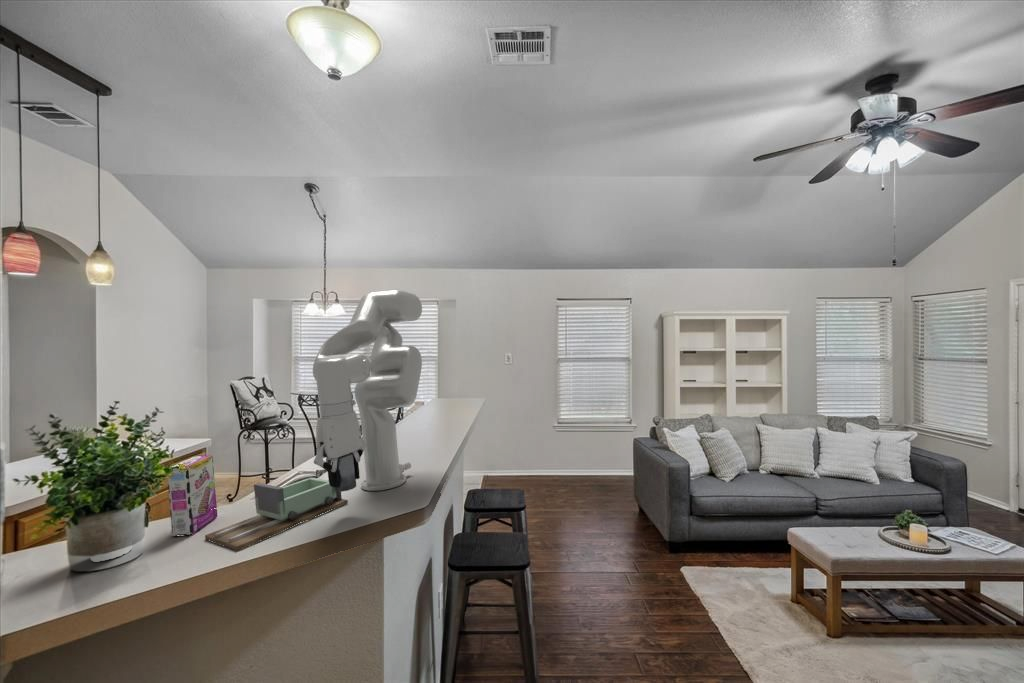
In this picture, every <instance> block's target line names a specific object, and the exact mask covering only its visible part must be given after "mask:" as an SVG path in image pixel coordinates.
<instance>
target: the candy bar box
mask: <svg viewBox="0 0 1024 683" xmlns="http://www.w3.org/2000/svg"><path fill="white" fill-rule="evenodd" d="M178 464H183V465H185V466H187V467H188V468H190V469H189V470H187V471H185V472H183V473H181V472H179V471H180V469H179V467H176V466H179V465H178ZM171 466H172V469H173V472H172V473H174V474H172V475H174V476H172V477H171V478H168V479H167V488H168V489H167V490H168V499H169V511H170V512H169V513H170V514H169V515H170V525H171V537H172V536H177V535H189V536H191V535H190V534H193V535H194V534H196V533H197V532H199V531H200V530H201V529H203V528H204V527H205V525H206V524H207V525H209V524H210V523H211V522H213V521H214V520H216V519H217V518H218V506H217V504H218V503H217V496H216V483H215V481H216V480H215V471H214V470H215V469H214V458H213V454H205V455H198V456H192V457H190V458H188V459H185V460H183V461H180V462H178V463H176V464H174V466H173V465H171ZM214 508H217V509H214ZM211 509H212V510H211ZM216 517H217V518H216ZM209 522H210V523H209ZM207 525H206V526H207ZM203 526H204V527H203ZM202 527H203V528H202ZM199 529H200V530H199ZM198 530H199V531H198ZM195 532H196V533H195Z"/></svg>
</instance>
